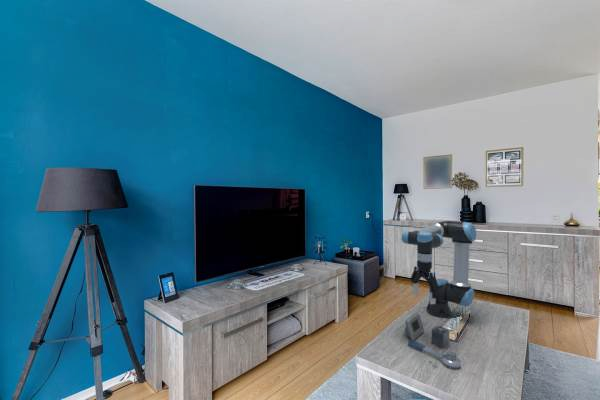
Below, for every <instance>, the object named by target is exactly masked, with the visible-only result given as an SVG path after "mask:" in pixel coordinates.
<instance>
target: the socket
mask: <svg viewBox="0 0 600 400" xmlns="http://www.w3.org/2000/svg"><path fill="white" fill-rule="evenodd" d="M431 344H432V345H434V346H437V347H439V348H440V349H441V348H442V349H445V348H447V347H448V346H450V330H449V329H446V328H445V327H443V326H439V325H437V326H435V327H433V328H432V329H431Z"/></svg>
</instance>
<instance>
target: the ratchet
mask: <svg viewBox="0 0 600 400" xmlns="http://www.w3.org/2000/svg"><path fill="white" fill-rule="evenodd" d="M407 346H408V347H409V348H412V349H414V350H415V351H418V352H420V353H423V354H426V355H428V356H430V357H431V358H433V359H435V360H438V361H440V362H441V363H442V365H443V366H444V367H446V368H447V369H451V370H460V369H461V359H460V358H458V357H457V353H456V352H454V351H451V350H448V351H446V353H445V354H442V353H440V352H437V351H436V350H434V349H431V348H429V347H427V346H426V345H425V344H423V343H421V342H419V341H417V340H415V339H414V340H412V339H410V340H408V341H407Z"/></svg>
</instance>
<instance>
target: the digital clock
mask: <svg viewBox="0 0 600 400" xmlns="http://www.w3.org/2000/svg"><path fill="white" fill-rule="evenodd" d="M404 323H405V328H404V336H407V337H409V339H410V340H411V339H412V340H414V341H415V340H416V339H417V338H418V337H419V336H420V335H421V334H423V333H424V332H425V328H424V325H423V322H422V319H421V315H420V314H419V313H418V312H415V313H413V314H412V315H411V316H409V317H408V318H407V319H406V320H405V321H404Z"/></svg>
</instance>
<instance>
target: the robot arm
mask: <svg viewBox="0 0 600 400" xmlns="http://www.w3.org/2000/svg"><path fill="white" fill-rule="evenodd" d="M444 238H447V239H451V242H452V244H453V247H454V249H453V250H454V251H453V280H452V281H450V283H449V280H447V279H445V278H437V277H436V273H435V272H431V270H432V269H433V262H432V261H433V249H436V248H439V247H441V246H442V245H443V243H444ZM476 239H477V229H476V226H475V225H474V224H473V223H472V222H467V221H455V220H454V221H453V220H444V221H443V220H442V221H439V222H435V223H432V224H431V225H430V226H427V227H423V228H420V229H418V230H413V231H406V230H405V231H403V232H402V234H401V241H402V242H403V243H404V244H407V245H413V246H416V247H417V249H416V251H417V252H416V259H417V260H416V266H414V267H413V271H412V274H411V276H410V278H409V280H410V281H411V282H412V294H413V295H414V296H417V295H419V281H420V279H421V278H423V279H425V280H424V281H426V283H427V284H428V286H429V301H428V303H427V306H426V313H428V314H429V315H431V316H433V317H437V318H449V317H448V316H449V315H450V314H451V315H452V311H451V307H450V305H449V302H450V303H453V304H457V305H460V306H464V307H469V306H471V305H472V304H473V301H474V298H475V289H473V288H472V285H471V284H470V282H469V271H470V267H469V266H470V246H471V245H472V244H473V242H475V241H476Z"/></svg>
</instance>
